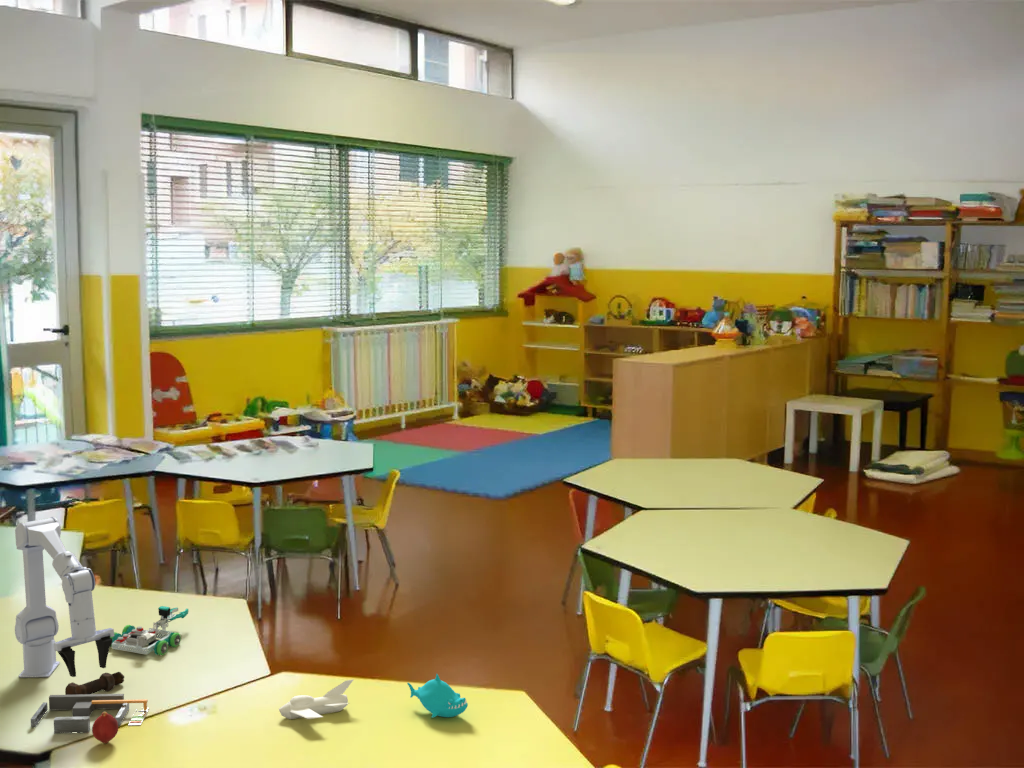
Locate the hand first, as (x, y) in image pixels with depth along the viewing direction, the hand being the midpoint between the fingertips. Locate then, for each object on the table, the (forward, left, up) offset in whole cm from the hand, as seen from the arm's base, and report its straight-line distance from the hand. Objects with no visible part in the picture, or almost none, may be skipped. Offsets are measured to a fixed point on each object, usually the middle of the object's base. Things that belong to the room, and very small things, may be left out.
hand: (88, 671), depth 263 cm
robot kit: (-45, +6, -11) cm, 47 cm away
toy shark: (+5, +88, -11) cm, 88 cm away
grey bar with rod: (+1, +2, -10) cm, 11 cm away
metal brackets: (+5, +2, -11) cm, 12 cm away
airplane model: (+4, +57, -11) cm, 58 cm away
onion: (+17, +9, -11) cm, 22 cm away
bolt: (-10, -1, -11) cm, 15 cm away
